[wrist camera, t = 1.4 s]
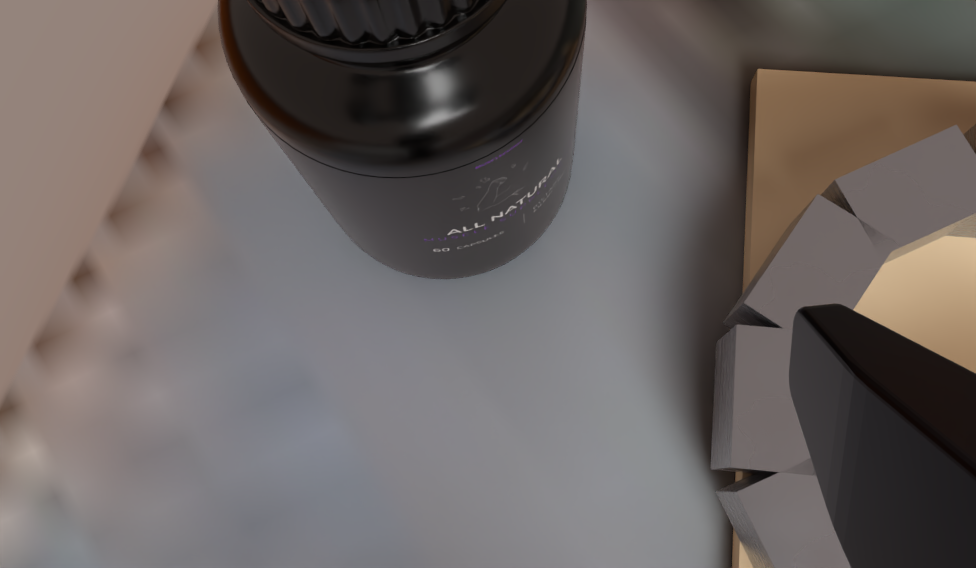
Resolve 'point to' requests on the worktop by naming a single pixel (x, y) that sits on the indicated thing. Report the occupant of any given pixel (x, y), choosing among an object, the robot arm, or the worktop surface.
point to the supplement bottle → (419, 117)
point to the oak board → (843, 149)
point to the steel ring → (769, 322)
